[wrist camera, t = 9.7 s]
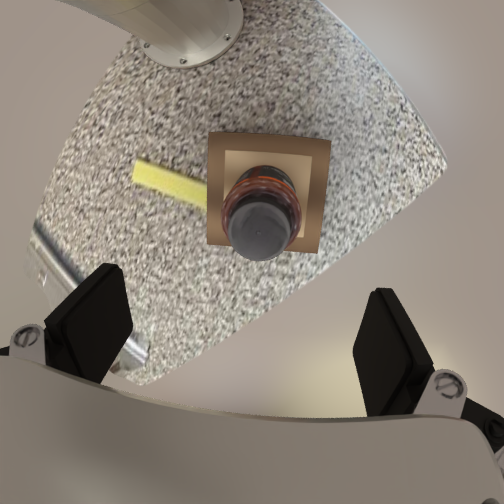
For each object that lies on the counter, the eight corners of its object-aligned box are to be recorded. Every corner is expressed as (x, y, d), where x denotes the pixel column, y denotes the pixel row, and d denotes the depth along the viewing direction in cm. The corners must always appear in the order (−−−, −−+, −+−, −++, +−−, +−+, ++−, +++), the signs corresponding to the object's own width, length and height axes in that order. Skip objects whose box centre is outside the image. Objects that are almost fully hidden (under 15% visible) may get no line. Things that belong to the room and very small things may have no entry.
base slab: (217, 131, 30) (207, 132, 26) (324, 139, 29) (331, 140, 25) (214, 231, 35) (206, 245, 31) (313, 240, 34) (317, 254, 30)
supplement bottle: (229, 213, 29) (202, 262, 19) (242, 157, 27) (220, 174, 17) (286, 228, 29) (289, 284, 19) (302, 173, 27) (317, 200, 17)
